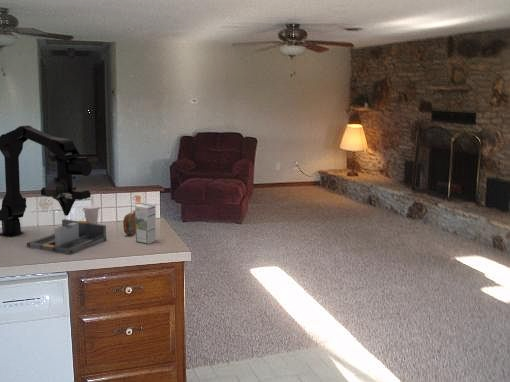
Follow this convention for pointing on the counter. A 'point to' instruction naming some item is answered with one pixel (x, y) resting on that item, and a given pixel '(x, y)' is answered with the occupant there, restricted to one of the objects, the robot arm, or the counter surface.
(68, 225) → the panel
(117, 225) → the counter surface
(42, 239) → the rack
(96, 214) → the smoothie
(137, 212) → the syrup box
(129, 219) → the tin
